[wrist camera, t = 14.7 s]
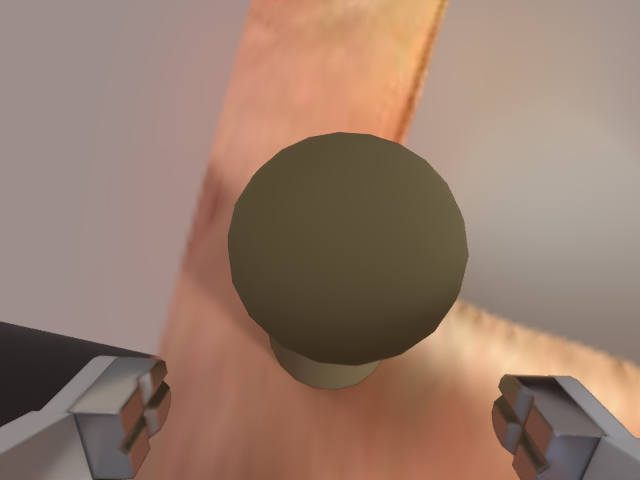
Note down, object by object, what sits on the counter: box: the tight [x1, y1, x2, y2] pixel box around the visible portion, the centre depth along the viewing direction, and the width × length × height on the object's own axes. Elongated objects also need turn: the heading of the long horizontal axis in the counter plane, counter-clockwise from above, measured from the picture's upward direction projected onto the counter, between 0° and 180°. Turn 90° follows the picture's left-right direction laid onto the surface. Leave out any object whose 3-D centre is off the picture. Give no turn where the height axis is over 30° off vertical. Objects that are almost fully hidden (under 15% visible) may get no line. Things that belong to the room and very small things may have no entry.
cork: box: [228, 132, 468, 390], centre depth 11 cm, size 6×6×11 cm
